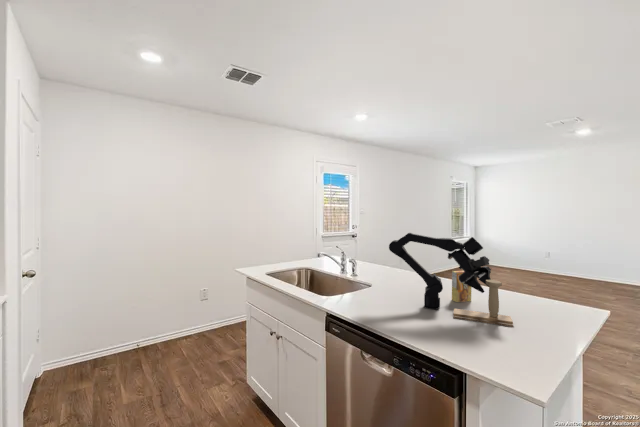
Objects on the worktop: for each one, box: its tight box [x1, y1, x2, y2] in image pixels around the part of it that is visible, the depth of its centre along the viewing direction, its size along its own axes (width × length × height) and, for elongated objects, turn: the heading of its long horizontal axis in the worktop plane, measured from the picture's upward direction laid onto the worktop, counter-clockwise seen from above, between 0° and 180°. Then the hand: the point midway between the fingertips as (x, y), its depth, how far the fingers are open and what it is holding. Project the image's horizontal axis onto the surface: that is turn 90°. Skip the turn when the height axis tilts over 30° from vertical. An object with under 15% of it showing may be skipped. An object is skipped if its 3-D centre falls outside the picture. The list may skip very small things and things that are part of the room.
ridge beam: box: [452, 308, 514, 328], centre depth 128 cm, size 22×10×2 cm, turn 64°
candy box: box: [451, 270, 472, 303], centre depth 152 cm, size 9×4×15 cm, turn 103°
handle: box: [486, 279, 503, 317], centre depth 125 cm, size 5×6×15 cm
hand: (488, 290), depth 127 cm, fingers open, 9 cm apart
